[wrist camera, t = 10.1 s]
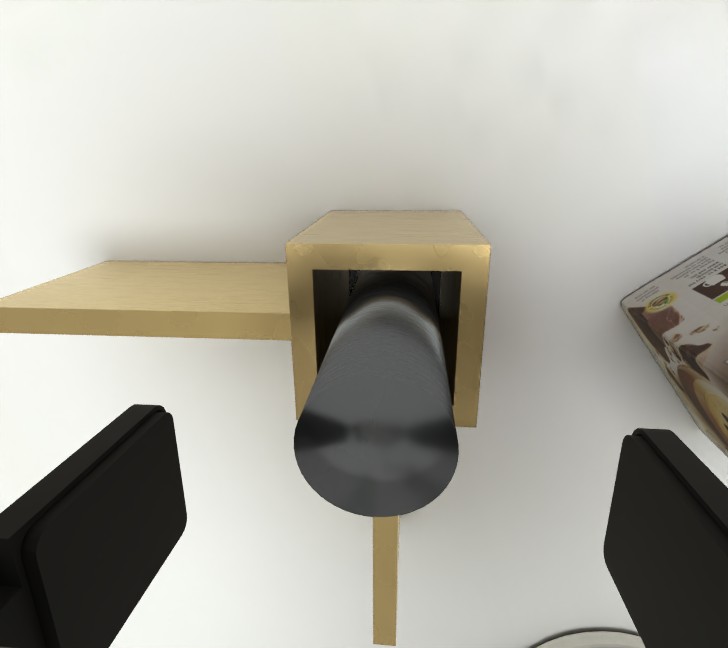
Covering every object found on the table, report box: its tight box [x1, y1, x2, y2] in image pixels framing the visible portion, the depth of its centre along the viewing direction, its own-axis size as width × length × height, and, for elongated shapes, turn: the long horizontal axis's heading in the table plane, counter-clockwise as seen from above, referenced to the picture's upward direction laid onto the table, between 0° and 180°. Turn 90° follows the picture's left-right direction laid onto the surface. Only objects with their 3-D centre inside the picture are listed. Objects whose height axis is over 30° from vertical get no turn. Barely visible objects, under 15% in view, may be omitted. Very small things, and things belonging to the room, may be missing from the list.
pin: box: [294, 270, 459, 517], centre depth 17 cm, size 3×3×15 cm
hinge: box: [0, 211, 491, 646], centre depth 22 cm, size 18×18×9 cm
